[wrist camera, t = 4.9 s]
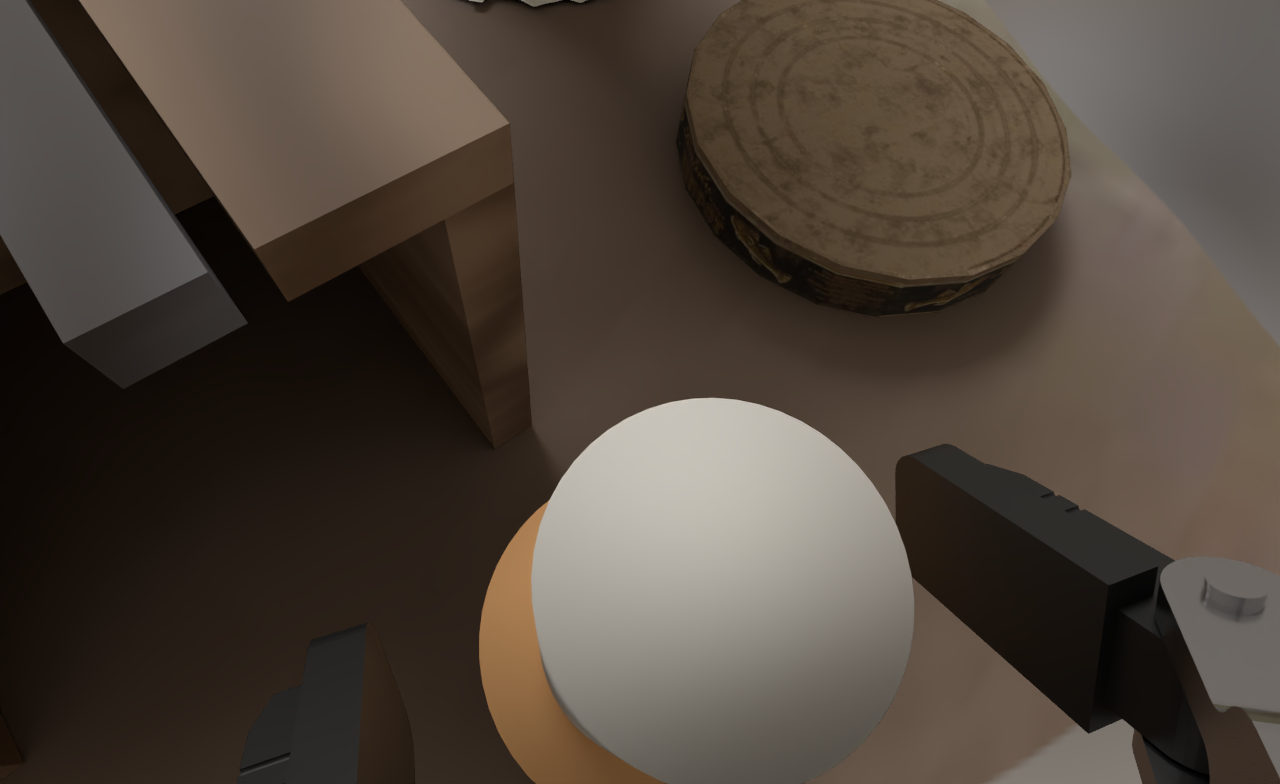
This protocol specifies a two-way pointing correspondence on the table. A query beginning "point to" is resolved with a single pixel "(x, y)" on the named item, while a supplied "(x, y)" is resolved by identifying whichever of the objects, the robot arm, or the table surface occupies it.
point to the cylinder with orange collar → (698, 606)
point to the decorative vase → (536, 1)
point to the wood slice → (870, 150)
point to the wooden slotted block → (256, 181)
